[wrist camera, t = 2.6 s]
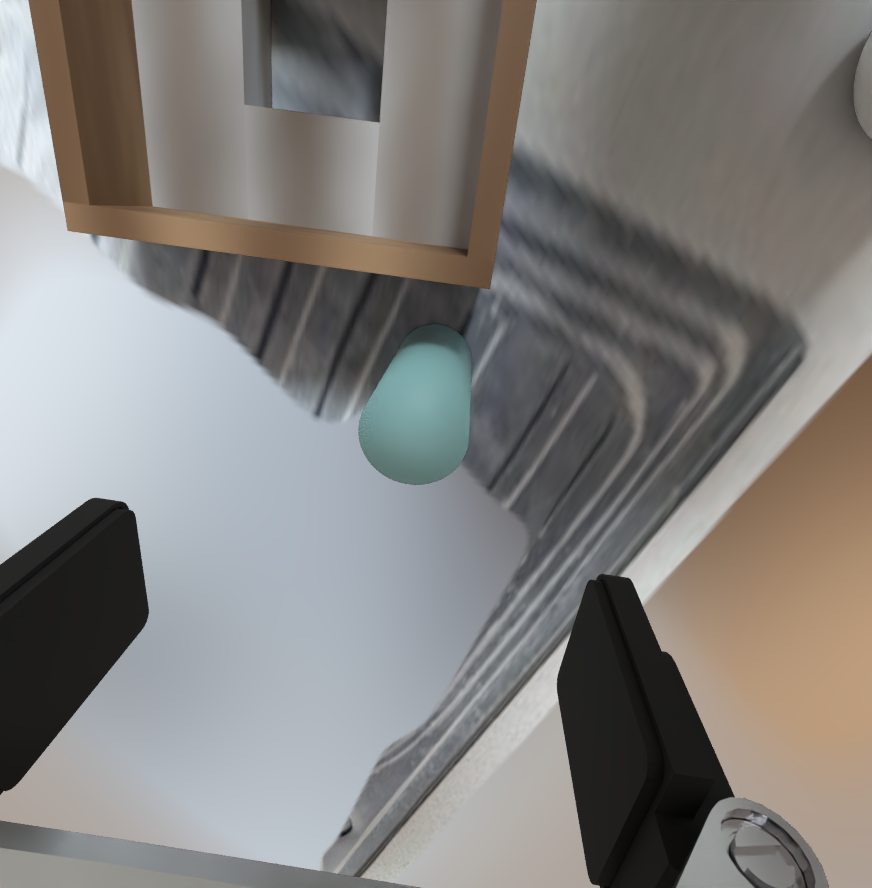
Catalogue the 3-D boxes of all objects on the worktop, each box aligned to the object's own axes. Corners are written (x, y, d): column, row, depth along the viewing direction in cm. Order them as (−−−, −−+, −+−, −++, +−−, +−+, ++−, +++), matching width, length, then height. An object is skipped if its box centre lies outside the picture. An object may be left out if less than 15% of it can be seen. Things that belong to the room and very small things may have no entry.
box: (559, -191, 18) (601, -402, 12) (486, 269, 25) (489, 289, 19) (127, -244, 19) (-53, -477, 12) (170, 226, 25) (67, 230, 19)
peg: (477, 329, 26) (477, 391, 17) (466, 401, 28) (460, 491, 19) (401, 319, 27) (362, 374, 17) (394, 391, 28) (355, 476, 19)
